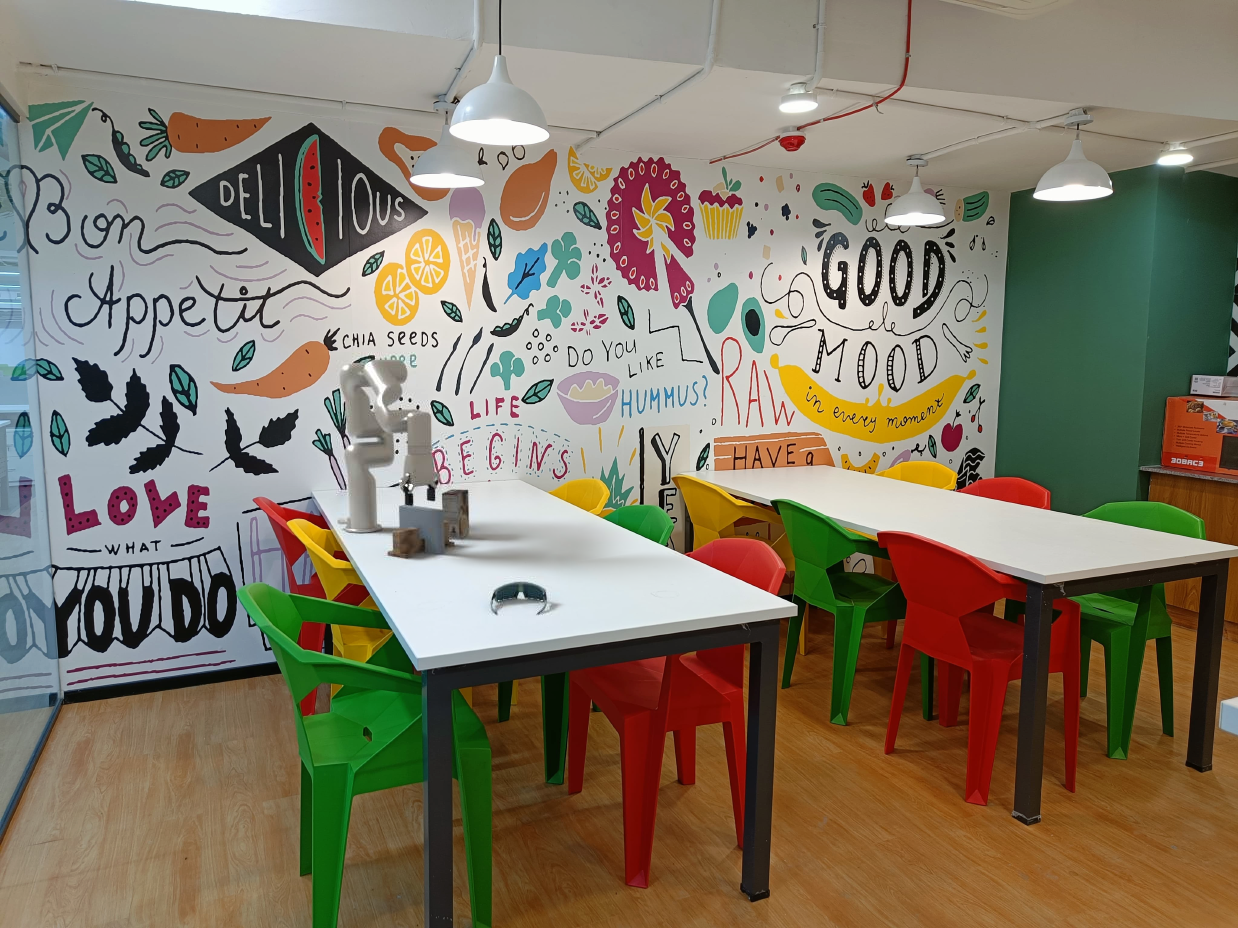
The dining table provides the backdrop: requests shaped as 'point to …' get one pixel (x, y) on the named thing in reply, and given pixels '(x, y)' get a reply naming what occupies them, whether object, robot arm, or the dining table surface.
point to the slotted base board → (413, 542)
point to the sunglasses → (516, 587)
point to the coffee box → (456, 512)
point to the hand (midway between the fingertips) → (420, 503)
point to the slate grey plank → (425, 526)
